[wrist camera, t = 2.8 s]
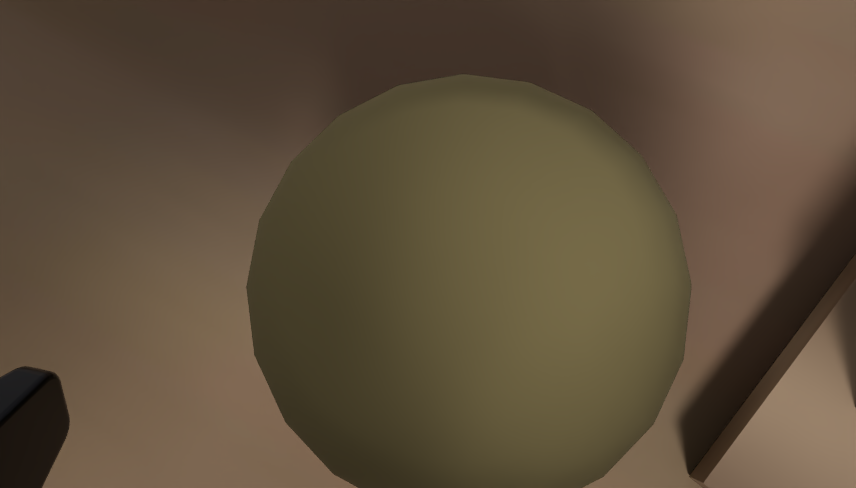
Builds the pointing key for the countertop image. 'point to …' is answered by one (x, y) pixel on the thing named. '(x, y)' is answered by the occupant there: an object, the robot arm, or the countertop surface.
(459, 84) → the cork
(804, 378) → the slab
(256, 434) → the countertop surface
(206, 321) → the countertop surface
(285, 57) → the countertop surface
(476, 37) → the countertop surface
